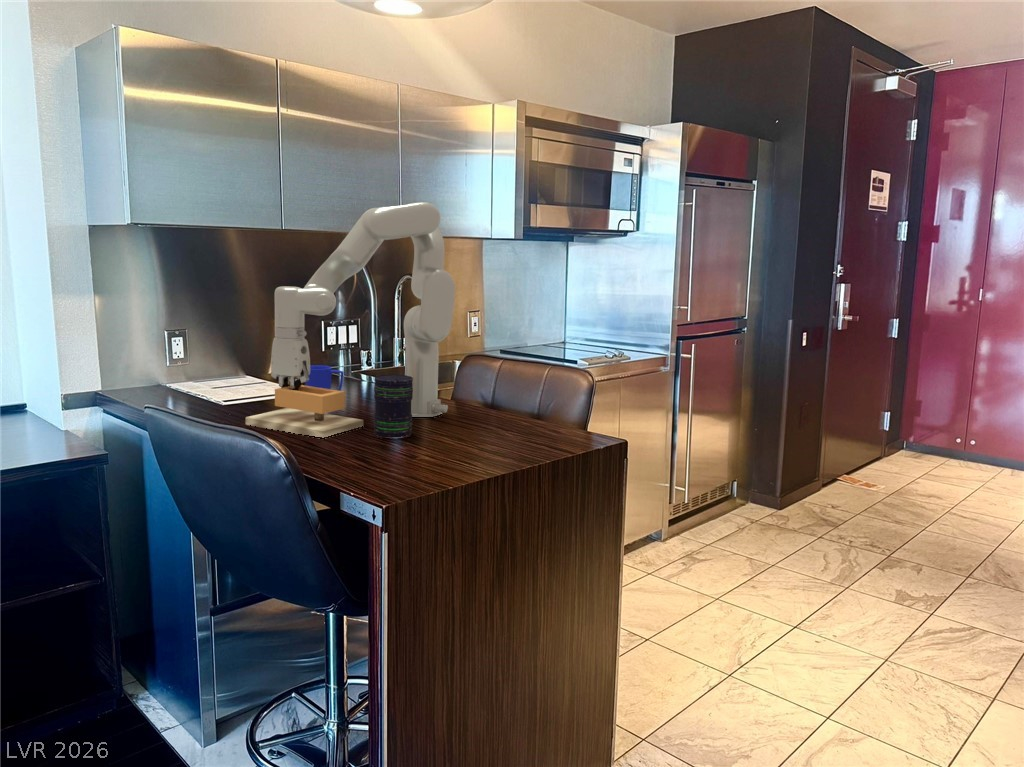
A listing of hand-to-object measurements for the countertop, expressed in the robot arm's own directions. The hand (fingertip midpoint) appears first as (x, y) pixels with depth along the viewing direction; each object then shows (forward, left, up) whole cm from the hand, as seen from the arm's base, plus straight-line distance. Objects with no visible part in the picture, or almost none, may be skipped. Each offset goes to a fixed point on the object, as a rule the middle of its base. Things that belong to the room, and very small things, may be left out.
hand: (290, 401), depth 203 cm
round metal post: (-10, 0, -4) cm, 11 cm away
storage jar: (-30, -5, -6) cm, 31 cm away
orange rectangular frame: (-7, 0, -1) cm, 7 cm away
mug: (+14, -30, -6) cm, 34 cm away
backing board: (-6, +1, -6) cm, 8 cm away
